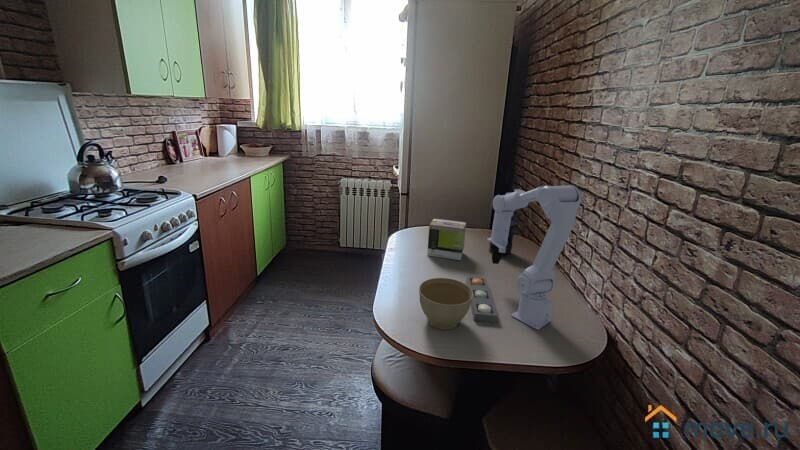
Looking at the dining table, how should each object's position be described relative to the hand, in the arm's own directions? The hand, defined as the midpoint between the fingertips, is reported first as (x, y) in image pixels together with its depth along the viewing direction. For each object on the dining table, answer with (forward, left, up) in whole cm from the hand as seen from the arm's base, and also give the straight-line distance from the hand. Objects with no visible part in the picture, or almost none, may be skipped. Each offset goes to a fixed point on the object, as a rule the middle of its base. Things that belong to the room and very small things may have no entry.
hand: (495, 263), depth 132 cm
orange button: (+2, +6, -9) cm, 11 cm away
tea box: (+30, -7, -10) cm, 32 cm away
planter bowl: (-5, +32, -10) cm, 34 cm away
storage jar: (+17, -30, -10) cm, 36 cm away
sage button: (-4, +13, -8) cm, 16 cm away
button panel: (-4, +12, -9) cm, 16 cm away
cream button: (-10, +19, -8) cm, 23 cm away
